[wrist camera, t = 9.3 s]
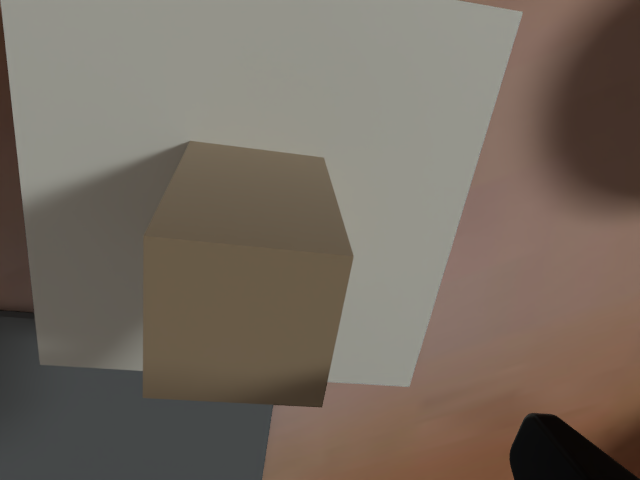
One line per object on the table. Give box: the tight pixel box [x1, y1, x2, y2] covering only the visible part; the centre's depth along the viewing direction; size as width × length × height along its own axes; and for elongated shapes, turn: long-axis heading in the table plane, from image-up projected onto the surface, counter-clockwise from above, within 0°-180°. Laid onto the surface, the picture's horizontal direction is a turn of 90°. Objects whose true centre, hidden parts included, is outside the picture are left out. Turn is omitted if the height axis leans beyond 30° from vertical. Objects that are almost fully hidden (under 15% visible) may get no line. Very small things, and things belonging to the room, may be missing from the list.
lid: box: [0, 0, 523, 407], centre depth 12 cm, size 12×12×6 cm
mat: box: [0, 311, 273, 480], centre depth 25 cm, size 14×14×1 cm
